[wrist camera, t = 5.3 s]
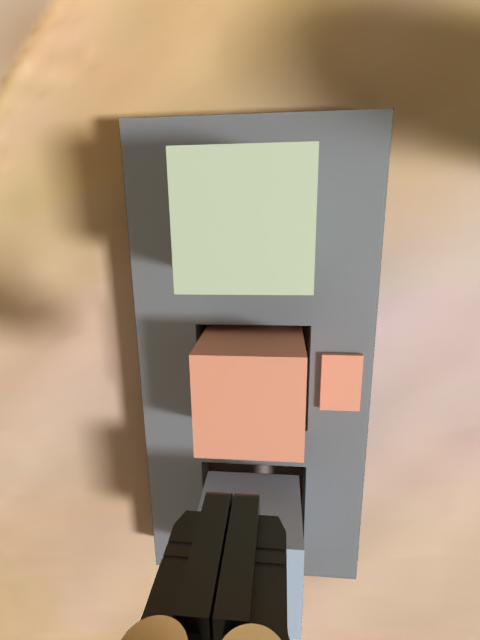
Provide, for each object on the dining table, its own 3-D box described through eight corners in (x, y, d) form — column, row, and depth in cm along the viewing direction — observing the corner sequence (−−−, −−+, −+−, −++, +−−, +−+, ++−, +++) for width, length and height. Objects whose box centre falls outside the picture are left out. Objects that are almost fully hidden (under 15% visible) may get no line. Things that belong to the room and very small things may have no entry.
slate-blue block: (208, 470, 22) (188, 542, 17) (299, 475, 22) (304, 550, 17) (211, 544, 23) (193, 630, 19) (296, 550, 23) (301, 639, 18)
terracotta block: (208, 323, 22) (188, 354, 17) (301, 324, 21) (307, 357, 17) (211, 406, 23) (193, 457, 18) (298, 409, 23) (303, 462, 18)
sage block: (196, 163, 18) (165, 145, 13) (308, 160, 17) (319, 141, 13) (200, 273, 19) (174, 294, 14) (305, 274, 19) (313, 295, 14)
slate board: (134, 127, 20) (116, 116, 18) (381, 118, 19) (395, 106, 17) (165, 538, 26) (154, 568, 24) (350, 551, 25) (357, 583, 23)
